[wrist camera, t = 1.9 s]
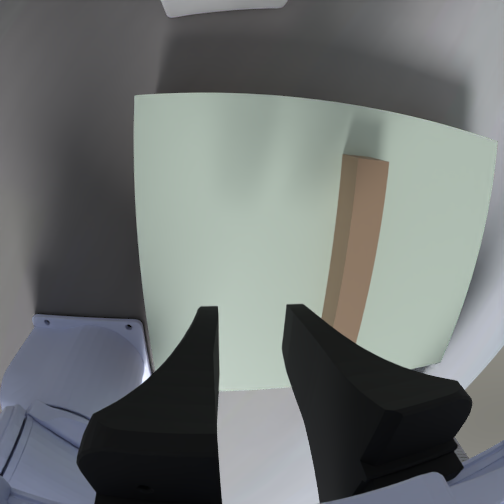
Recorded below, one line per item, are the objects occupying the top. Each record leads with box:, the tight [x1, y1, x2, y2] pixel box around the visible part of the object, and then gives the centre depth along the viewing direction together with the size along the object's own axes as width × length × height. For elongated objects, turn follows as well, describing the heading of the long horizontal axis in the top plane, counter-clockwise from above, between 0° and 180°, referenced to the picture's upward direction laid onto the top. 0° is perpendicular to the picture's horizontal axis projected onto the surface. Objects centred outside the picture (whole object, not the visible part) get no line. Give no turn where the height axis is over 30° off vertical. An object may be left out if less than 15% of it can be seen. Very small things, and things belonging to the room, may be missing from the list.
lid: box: [134, 93, 498, 391], centre depth 16 cm, size 21×17×3 cm
